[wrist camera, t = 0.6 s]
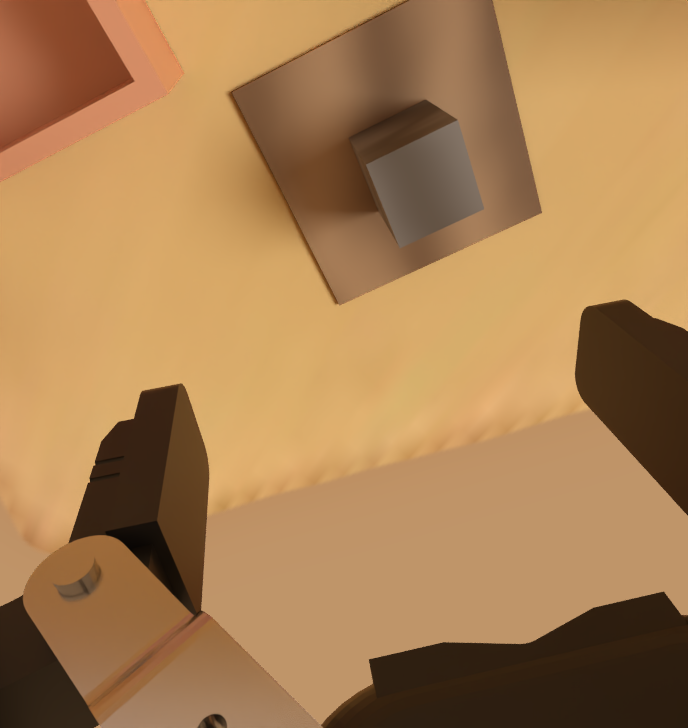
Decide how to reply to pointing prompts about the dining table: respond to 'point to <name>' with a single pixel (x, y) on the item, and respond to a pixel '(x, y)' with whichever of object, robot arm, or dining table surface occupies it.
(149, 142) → the dining table surface
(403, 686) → the robot arm
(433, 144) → the lid
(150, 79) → the salmon pink square box
